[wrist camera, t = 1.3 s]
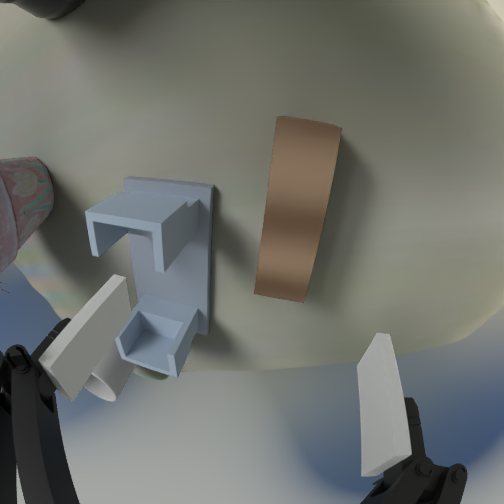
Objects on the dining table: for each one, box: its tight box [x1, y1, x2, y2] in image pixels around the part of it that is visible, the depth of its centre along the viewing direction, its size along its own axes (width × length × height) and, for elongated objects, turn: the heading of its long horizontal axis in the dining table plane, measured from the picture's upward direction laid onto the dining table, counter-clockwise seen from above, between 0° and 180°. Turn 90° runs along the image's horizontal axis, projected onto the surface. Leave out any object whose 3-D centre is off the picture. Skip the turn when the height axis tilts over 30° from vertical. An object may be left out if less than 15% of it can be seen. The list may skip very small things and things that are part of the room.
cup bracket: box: [85, 176, 214, 378], centre depth 28 cm, size 20×10×9 cm, turn 174°
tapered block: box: [254, 116, 342, 303], centre depth 23 cm, size 15×4×6 cm, turn 174°
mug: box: [83, 340, 137, 401], centre depth 37 cm, size 12×8×11 cm
